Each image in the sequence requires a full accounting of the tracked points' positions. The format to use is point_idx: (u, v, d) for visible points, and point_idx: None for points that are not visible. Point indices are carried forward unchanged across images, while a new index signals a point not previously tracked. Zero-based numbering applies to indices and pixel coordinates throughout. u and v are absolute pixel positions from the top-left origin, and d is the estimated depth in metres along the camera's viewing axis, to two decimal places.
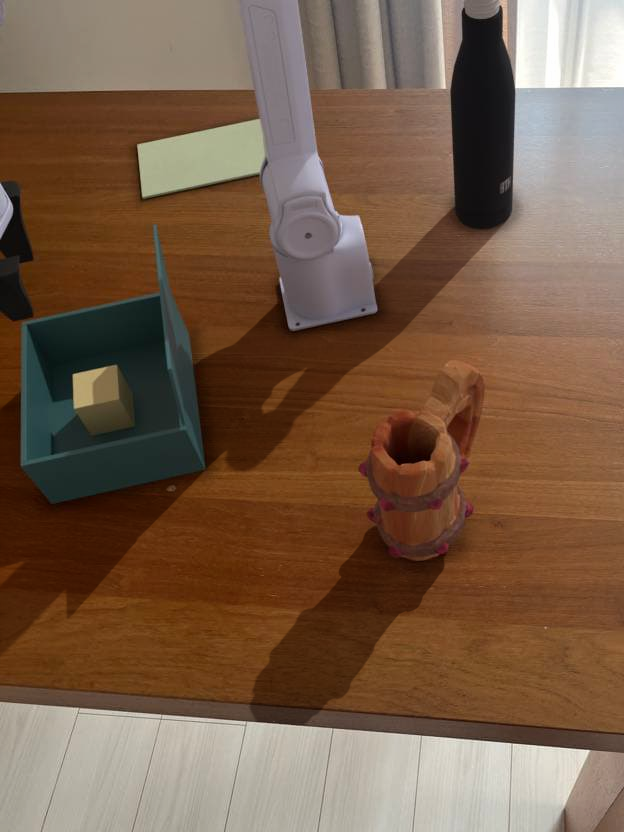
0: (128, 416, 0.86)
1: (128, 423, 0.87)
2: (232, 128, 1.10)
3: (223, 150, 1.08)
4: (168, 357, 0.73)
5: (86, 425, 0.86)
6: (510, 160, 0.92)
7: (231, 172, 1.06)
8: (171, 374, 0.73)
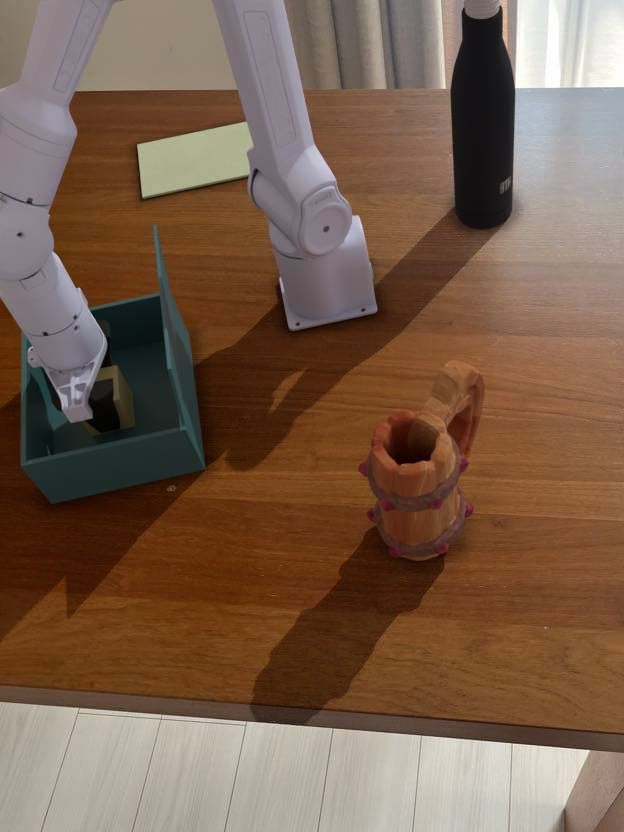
0: (128, 416, 0.86)
1: (128, 424, 0.87)
2: (232, 128, 1.10)
3: (223, 150, 1.08)
4: (168, 357, 0.73)
5: (86, 425, 0.86)
6: (510, 160, 0.92)
7: (231, 172, 1.06)
8: (171, 374, 0.73)
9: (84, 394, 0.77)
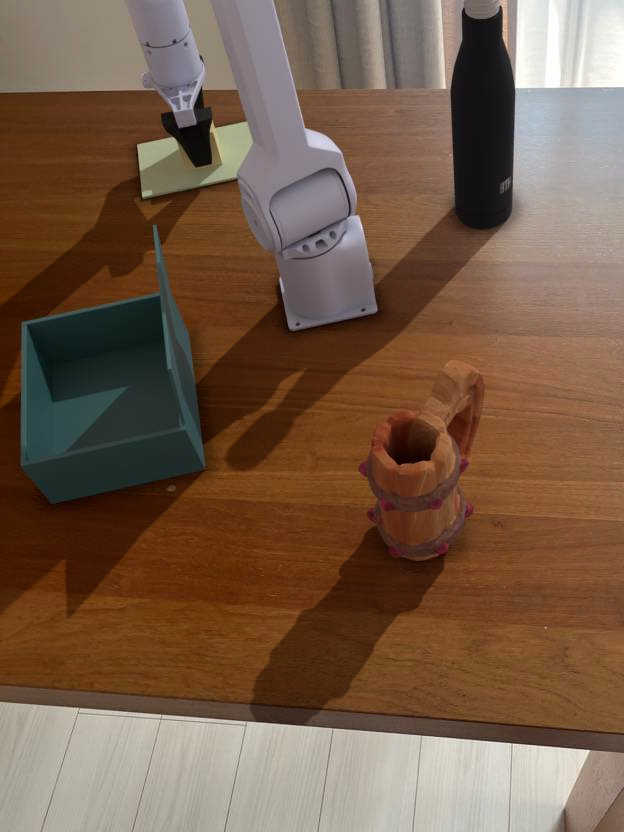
0: (218, 152, 1.05)
1: (218, 160, 1.06)
2: (232, 128, 1.10)
3: (223, 150, 1.08)
4: (168, 357, 0.73)
5: (184, 159, 1.05)
6: (510, 160, 0.92)
7: (231, 172, 1.06)
8: (171, 374, 0.73)
9: (190, 101, 0.95)
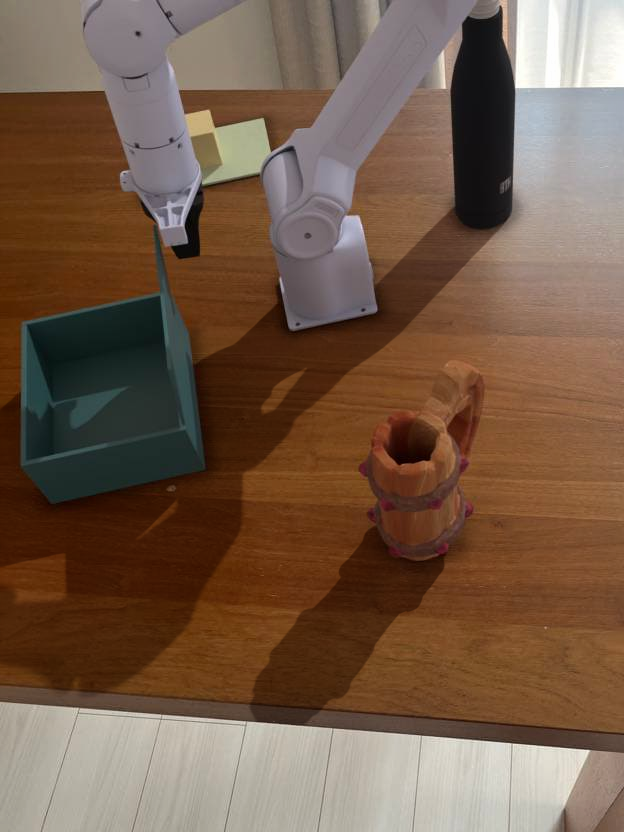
0: (218, 152, 1.05)
1: (218, 160, 1.06)
2: (232, 128, 1.10)
3: (223, 150, 1.08)
4: (168, 357, 0.73)
5: None
6: (510, 160, 0.92)
7: (231, 172, 1.06)
8: (171, 374, 0.73)
9: (182, 216, 0.75)
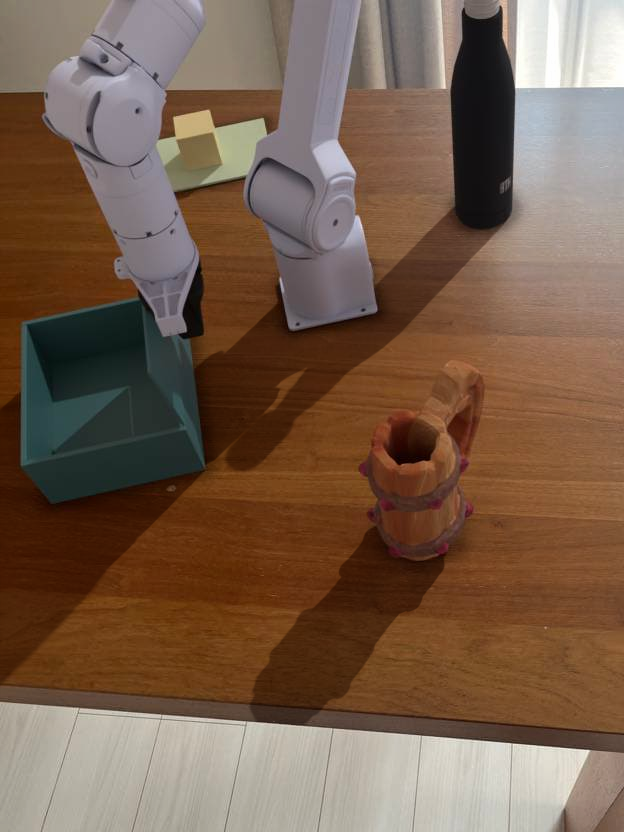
0: (218, 152, 1.05)
1: (218, 160, 1.06)
2: (232, 128, 1.10)
3: (223, 150, 1.08)
4: (148, 361, 0.73)
5: (184, 159, 1.05)
6: (510, 160, 0.92)
7: (231, 172, 1.06)
8: (153, 377, 0.73)
9: (179, 304, 0.71)
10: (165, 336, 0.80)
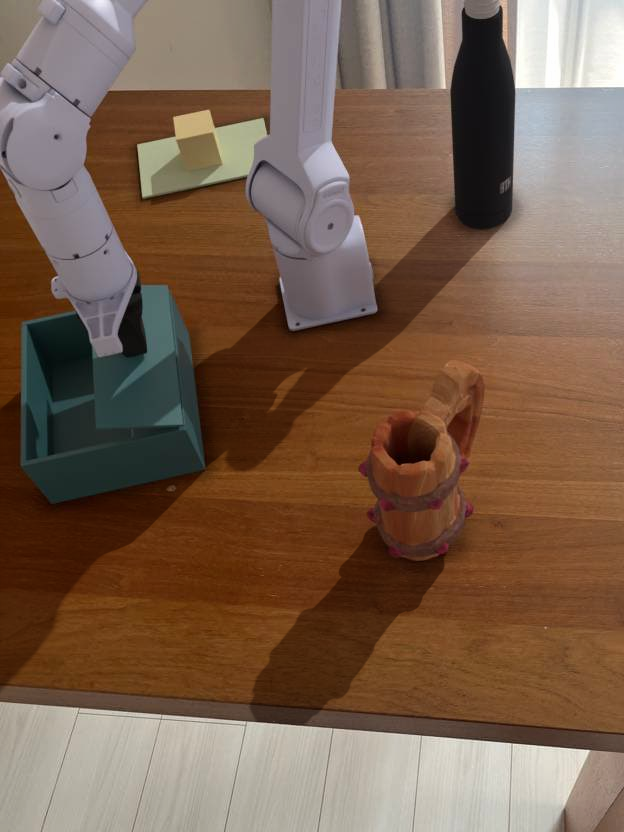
0: (218, 152, 1.05)
1: (218, 160, 1.06)
2: (232, 128, 1.10)
3: (223, 150, 1.08)
4: (95, 417, 0.77)
5: (184, 159, 1.05)
6: (510, 160, 0.92)
7: (231, 172, 1.06)
8: (104, 428, 0.77)
9: (114, 325, 0.71)
10: (144, 357, 0.82)
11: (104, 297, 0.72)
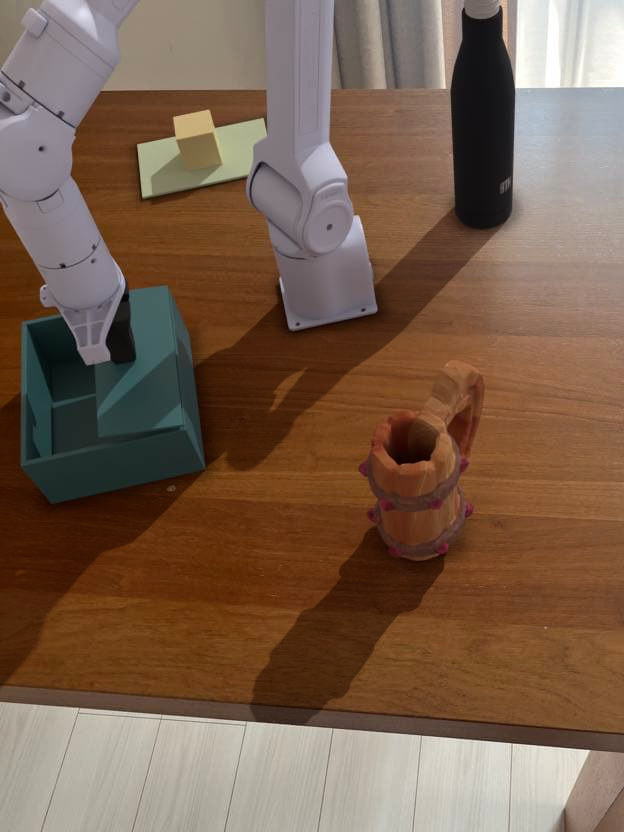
0: (218, 152, 1.05)
1: (218, 160, 1.06)
2: (232, 128, 1.10)
3: (223, 150, 1.08)
4: None
5: (184, 159, 1.05)
6: (510, 160, 0.92)
7: (231, 172, 1.06)
8: (106, 436, 0.78)
9: (101, 333, 0.72)
10: (144, 360, 0.82)
11: (92, 305, 0.73)
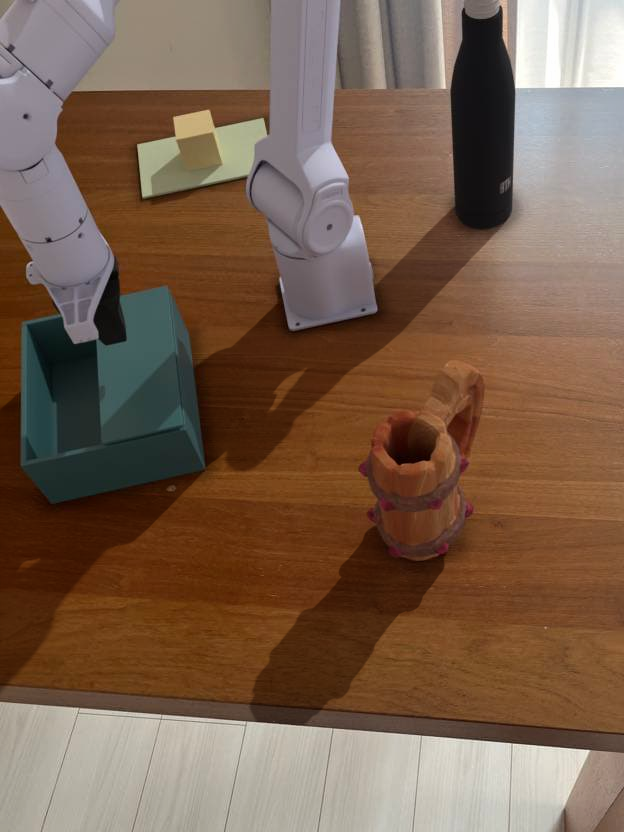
0: (218, 152, 1.05)
1: (218, 160, 1.06)
2: (232, 128, 1.10)
3: (223, 150, 1.08)
4: (101, 432, 0.79)
5: (184, 159, 1.05)
6: (510, 160, 0.92)
7: (231, 172, 1.06)
8: (109, 442, 0.79)
9: (89, 311, 0.69)
10: (145, 363, 0.83)
11: (80, 282, 0.71)
